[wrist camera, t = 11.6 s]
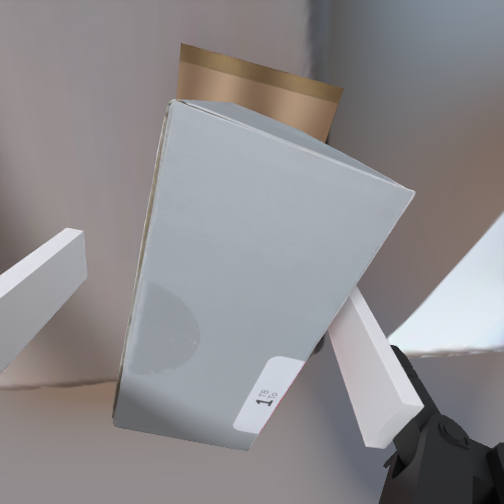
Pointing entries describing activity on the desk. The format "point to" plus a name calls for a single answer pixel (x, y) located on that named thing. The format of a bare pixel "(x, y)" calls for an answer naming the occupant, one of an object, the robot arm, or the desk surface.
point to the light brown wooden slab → (258, 90)
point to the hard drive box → (241, 269)
